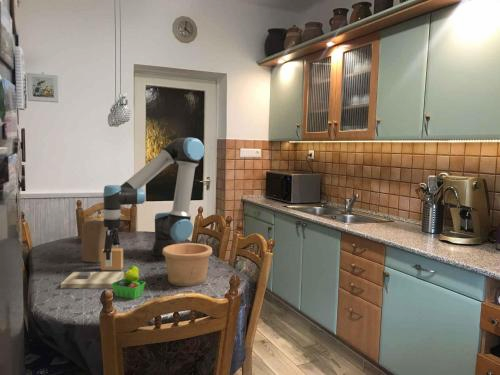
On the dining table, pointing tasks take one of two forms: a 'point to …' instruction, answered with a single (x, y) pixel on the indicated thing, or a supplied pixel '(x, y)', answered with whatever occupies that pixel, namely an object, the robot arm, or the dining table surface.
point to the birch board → (92, 280)
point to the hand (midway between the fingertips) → (111, 262)
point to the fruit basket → (129, 284)
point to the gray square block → (84, 275)
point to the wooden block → (93, 240)
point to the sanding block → (113, 260)
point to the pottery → (187, 263)
